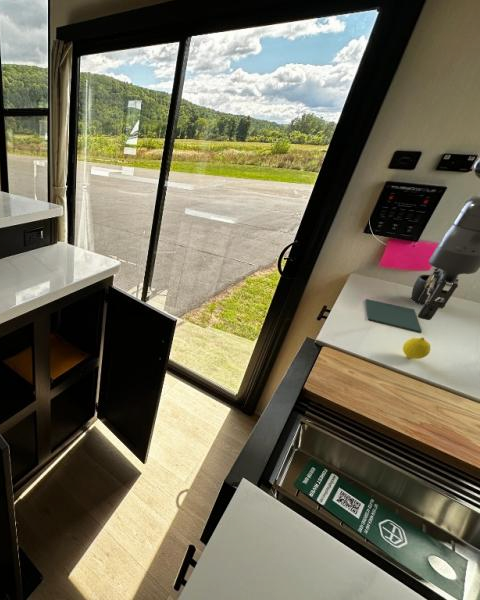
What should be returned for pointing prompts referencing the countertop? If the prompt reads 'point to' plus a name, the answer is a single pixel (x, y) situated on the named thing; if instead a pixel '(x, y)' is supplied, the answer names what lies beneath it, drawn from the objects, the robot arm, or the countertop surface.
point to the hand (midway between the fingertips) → (423, 310)
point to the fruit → (416, 348)
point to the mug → (420, 288)
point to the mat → (392, 315)
